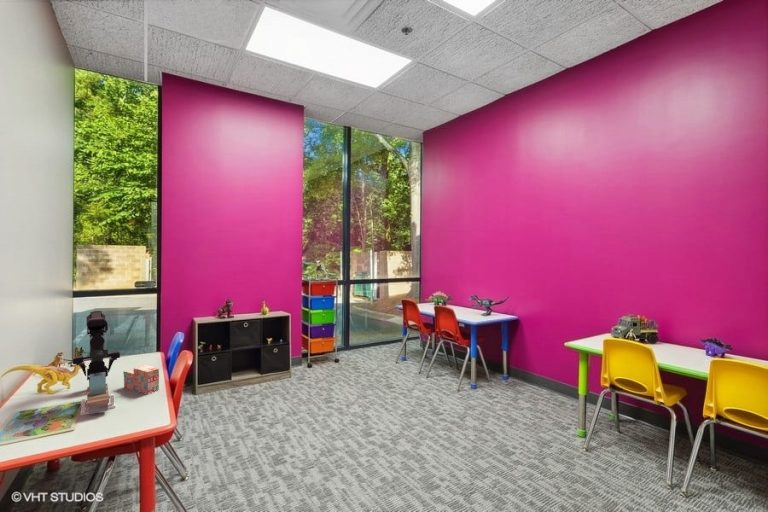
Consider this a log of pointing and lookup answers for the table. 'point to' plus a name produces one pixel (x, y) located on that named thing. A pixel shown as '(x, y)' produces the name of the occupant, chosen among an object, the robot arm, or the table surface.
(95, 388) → the grey rectangular block
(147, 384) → the stack of blocks
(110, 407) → the pivot stand
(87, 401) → the beam
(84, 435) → the table surface
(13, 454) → the table surface
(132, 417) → the table surface
